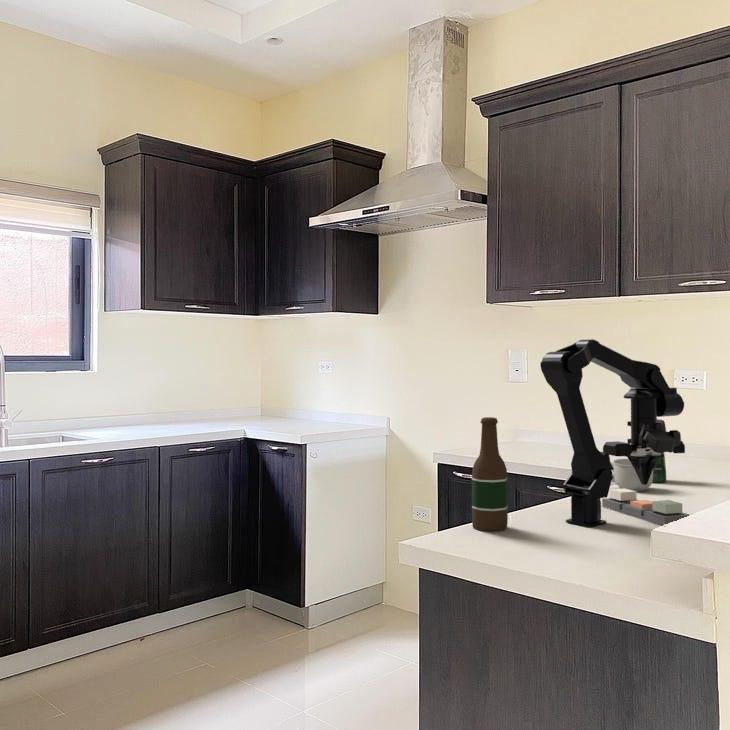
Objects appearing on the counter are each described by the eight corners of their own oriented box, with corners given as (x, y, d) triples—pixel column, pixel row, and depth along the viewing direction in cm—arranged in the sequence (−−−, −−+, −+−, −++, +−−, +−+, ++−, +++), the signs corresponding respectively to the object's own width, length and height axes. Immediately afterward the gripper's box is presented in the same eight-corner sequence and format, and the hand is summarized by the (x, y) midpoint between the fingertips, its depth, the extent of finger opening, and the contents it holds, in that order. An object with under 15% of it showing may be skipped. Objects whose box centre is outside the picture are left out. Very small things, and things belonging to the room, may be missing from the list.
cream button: (636, 499, 180) (636, 491, 180) (620, 500, 178) (620, 492, 178) (625, 496, 184) (625, 488, 184) (609, 497, 183) (609, 489, 183)
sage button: (682, 512, 164) (682, 503, 164) (665, 513, 163) (665, 504, 163) (668, 508, 169) (668, 499, 169) (652, 510, 167) (652, 501, 167)
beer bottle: (503, 523, 166) (503, 416, 165) (511, 531, 158) (511, 418, 158) (469, 524, 165) (468, 416, 165) (475, 532, 157) (474, 419, 157)
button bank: (691, 524, 163) (691, 515, 163) (664, 526, 161) (664, 517, 161) (626, 504, 186) (626, 496, 186) (602, 506, 184) (602, 498, 184)
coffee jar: (631, 482, 220) (631, 419, 220) (632, 478, 227) (632, 417, 227) (666, 483, 216) (666, 420, 216) (666, 479, 223) (666, 418, 223)
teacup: (656, 488, 209) (656, 459, 209) (650, 494, 200) (649, 464, 200) (606, 484, 216) (605, 456, 216) (597, 490, 207) (597, 461, 207)
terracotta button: (658, 511, 172) (658, 503, 172) (642, 513, 171) (642, 504, 171) (646, 508, 176) (646, 499, 176) (630, 509, 175) (630, 500, 175)
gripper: (631, 421, 163) (631, 492, 163) (701, 419, 168) (702, 487, 168) (601, 418, 174) (601, 484, 174) (668, 415, 179) (669, 480, 179)
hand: (644, 484), depth 173 cm, fingers closed
